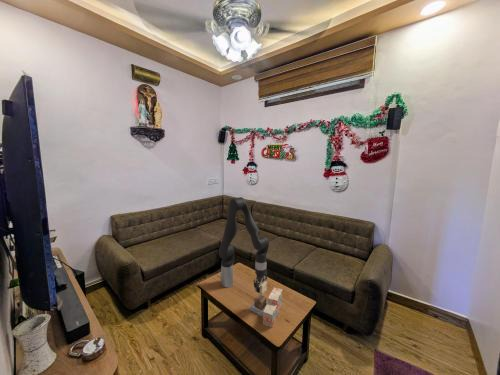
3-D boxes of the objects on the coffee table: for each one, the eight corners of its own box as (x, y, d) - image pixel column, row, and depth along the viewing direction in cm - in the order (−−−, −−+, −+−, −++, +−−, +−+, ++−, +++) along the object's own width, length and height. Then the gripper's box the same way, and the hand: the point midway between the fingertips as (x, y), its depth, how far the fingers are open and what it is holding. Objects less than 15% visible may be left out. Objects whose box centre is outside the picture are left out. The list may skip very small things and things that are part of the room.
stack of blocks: (272, 328, 127) (272, 310, 124) (262, 324, 129) (262, 307, 127) (282, 304, 146) (282, 289, 143) (273, 302, 148) (274, 286, 146)
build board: (248, 309, 141) (248, 307, 141) (258, 298, 151) (258, 297, 151) (262, 316, 135) (262, 315, 135) (271, 305, 145) (271, 304, 145)
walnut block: (254, 306, 142) (254, 298, 141) (258, 301, 147) (259, 293, 146) (261, 310, 139) (261, 302, 138) (266, 305, 144) (266, 297, 142)
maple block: (254, 291, 140) (254, 283, 139) (259, 286, 145) (259, 278, 144) (262, 294, 137) (262, 286, 135) (266, 289, 141) (266, 281, 140)
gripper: (261, 260, 145) (261, 281, 148) (250, 269, 134) (249, 293, 137) (271, 263, 141) (270, 285, 144) (259, 273, 130) (259, 297, 133)
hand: (260, 289), depth 140 cm, fingers closed on maple block, 6 cm apart
